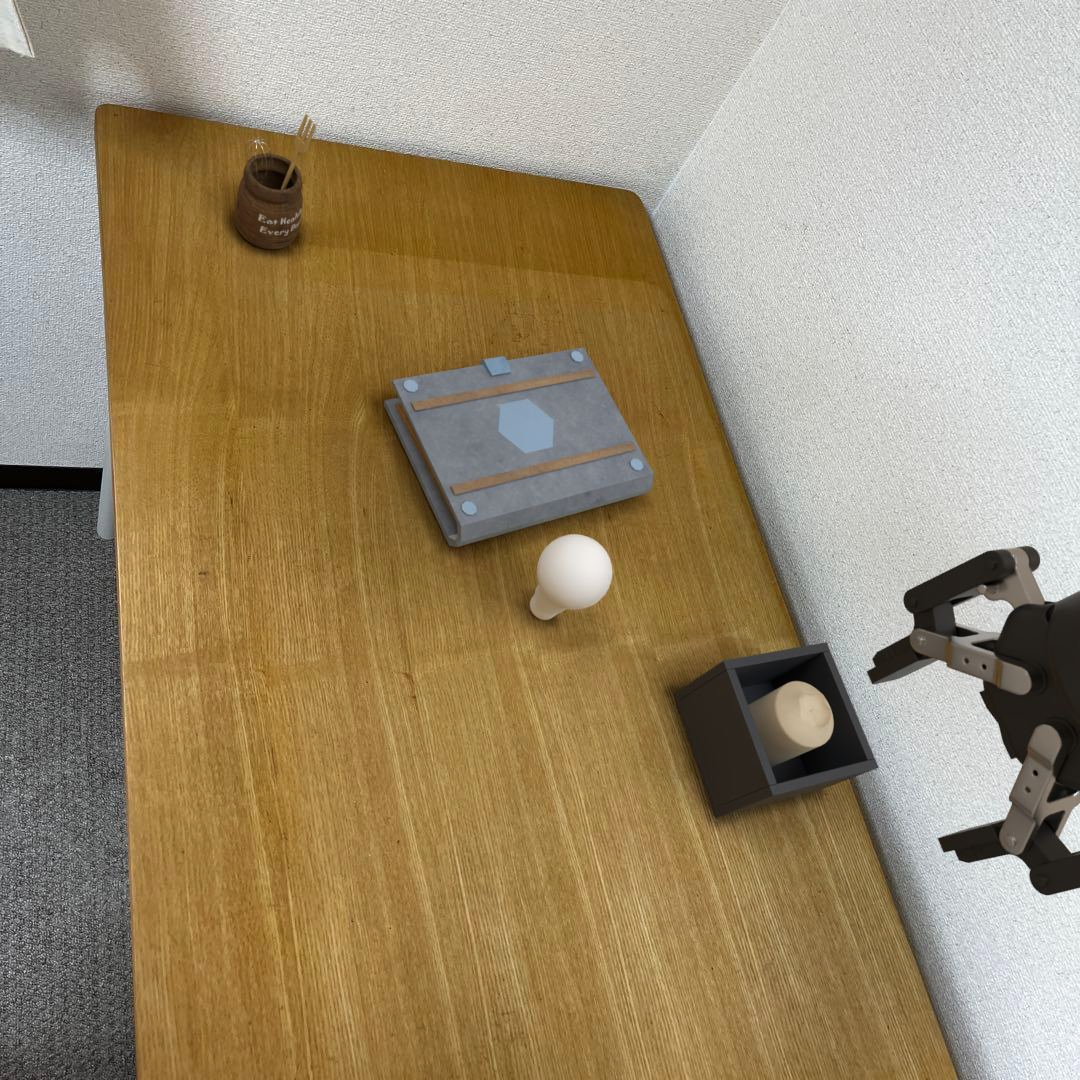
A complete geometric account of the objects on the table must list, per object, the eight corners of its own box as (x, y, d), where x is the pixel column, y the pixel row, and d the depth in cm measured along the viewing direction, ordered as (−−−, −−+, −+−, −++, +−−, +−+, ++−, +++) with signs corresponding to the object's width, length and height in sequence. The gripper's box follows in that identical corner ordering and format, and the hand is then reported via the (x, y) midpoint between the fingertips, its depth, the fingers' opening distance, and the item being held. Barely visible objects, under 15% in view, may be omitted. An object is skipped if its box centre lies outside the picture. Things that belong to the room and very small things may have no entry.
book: (451, 556, 78) (468, 530, 74) (380, 403, 83) (392, 370, 79) (638, 502, 89) (662, 476, 85) (566, 369, 94) (585, 338, 90)
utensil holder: (221, 215, 87) (230, 110, 77) (276, 199, 90) (291, 96, 80) (257, 259, 86) (270, 158, 76) (312, 240, 89) (331, 142, 79)
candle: (710, 745, 78) (776, 710, 70) (736, 699, 81) (801, 661, 73) (759, 786, 78) (830, 756, 70) (783, 738, 81) (854, 705, 73)
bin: (815, 791, 81) (879, 767, 74) (715, 818, 76) (773, 795, 69) (770, 674, 85) (826, 641, 78) (673, 693, 80) (723, 660, 73)
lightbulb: (541, 567, 81) (590, 508, 72) (585, 619, 80) (639, 566, 71) (493, 600, 78) (537, 543, 69) (537, 655, 77) (588, 605, 68)
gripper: (1065, 474, 33) (804, 635, 46) (1289, 869, 28) (922, 924, 41) (1184, 464, 36) (909, 617, 50) (1405, 816, 31) (1030, 883, 44)
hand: (915, 756), depth 45 cm, fingers open, 8 cm apart
